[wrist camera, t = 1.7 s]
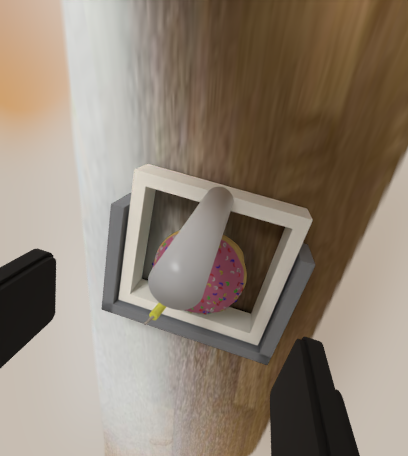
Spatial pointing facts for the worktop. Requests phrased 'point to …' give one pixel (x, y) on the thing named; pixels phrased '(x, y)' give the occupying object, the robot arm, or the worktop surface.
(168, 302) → the collar
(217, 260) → the pink frosted cake
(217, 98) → the worktop surface
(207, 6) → the worktop surface
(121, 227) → the holder bay
